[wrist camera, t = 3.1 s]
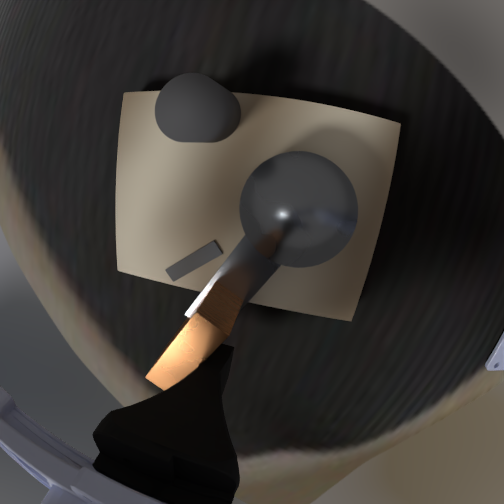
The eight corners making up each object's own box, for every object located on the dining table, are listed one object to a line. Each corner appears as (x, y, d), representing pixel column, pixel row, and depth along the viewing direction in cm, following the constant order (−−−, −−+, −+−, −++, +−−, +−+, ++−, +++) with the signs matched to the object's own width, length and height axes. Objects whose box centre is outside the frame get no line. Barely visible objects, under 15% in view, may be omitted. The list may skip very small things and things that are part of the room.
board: (393, 125, 10) (401, 123, 9) (349, 310, 14) (351, 322, 13) (135, 95, 12) (122, 92, 11) (127, 263, 15) (116, 271, 14)
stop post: (244, 88, 10) (228, 73, 8) (236, 145, 11) (218, 145, 9) (188, 86, 10) (159, 73, 8) (181, 140, 11) (151, 140, 9)
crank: (289, 130, 10) (283, 122, 7) (370, 196, 10) (395, 216, 7) (153, 321, 15) (122, 360, 11) (213, 364, 15) (194, 409, 12)
